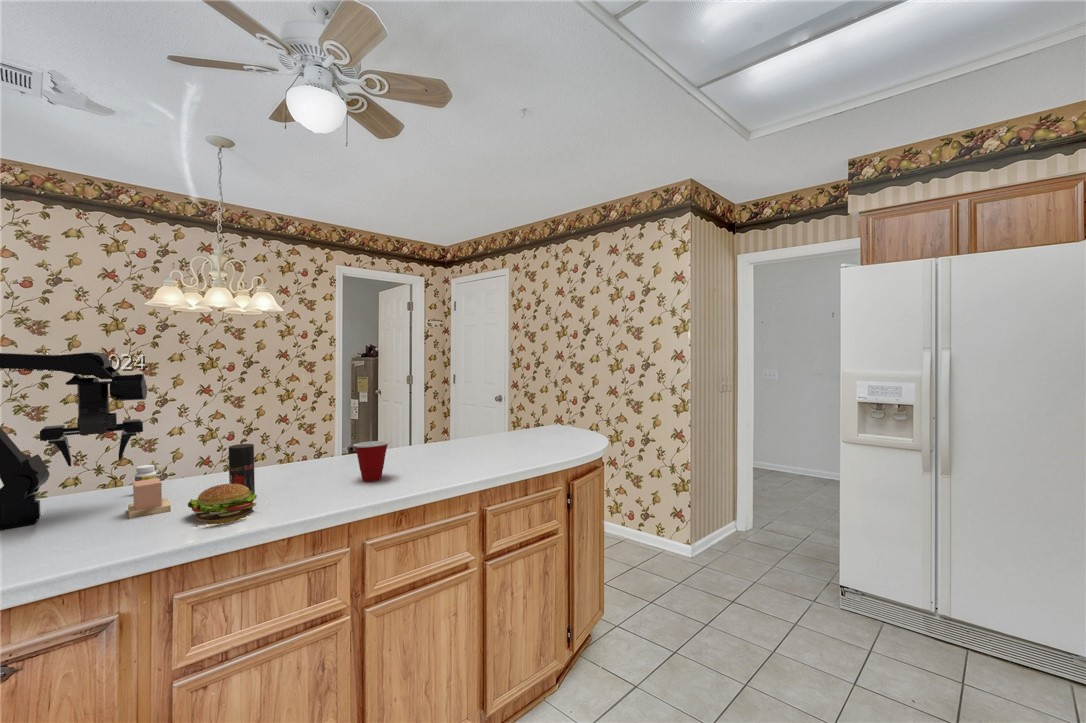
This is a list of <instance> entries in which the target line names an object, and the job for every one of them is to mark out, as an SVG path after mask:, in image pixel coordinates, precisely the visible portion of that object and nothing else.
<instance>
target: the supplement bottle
mask: <svg viewBox="0 0 1086 723" xmlns="http://www.w3.org/2000/svg"><path fill="white" fill-rule="evenodd" d="M135 469H136V473H135V475H134V481H140V480H147V479H154V478H158V477H157V472H156V471H155V470H156V468H155V464H145V465H144V464H143V465H138V466H136V468H135Z"/></svg>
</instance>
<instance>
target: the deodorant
mask: <svg viewBox="0 0 1086 723" xmlns="http://www.w3.org/2000/svg"><path fill="white" fill-rule="evenodd" d="M228 473H229V474H228V480H229V481H228V482H229V483H228V484H241V485H244V486H246V487H247V488H248V489H249V491H252V492H253V494H255V495H256V491H255V490H256V489H255V486H256V484H255V445H254V444H253V443H239V444H233V445H229V446H228Z"/></svg>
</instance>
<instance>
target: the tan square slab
mask: <svg viewBox="0 0 1086 723" xmlns="http://www.w3.org/2000/svg"><path fill="white" fill-rule="evenodd" d="M170 502H171V501H170V500H169V498H168V497H165V498H162V506H158V507H153V508H147V509H142V510H137V511H136V509H135V507H134V503H128V505H127V508H128V509H127V510H128V511H127V512H128V513H129V514H128V519H129V520H130V519H131V518H132V519H137V518H143V517H148V516H153V515H152V514H154V515H159V514H163V512H165V513H170V512H172V511H171V510H172V509H171V508H172V507H171V506H172V505H171V503H170ZM169 511H170V512H169ZM158 513H159V514H158ZM147 515H148V516H147ZM142 516H143V517H142ZM136 517H137V518H136Z"/></svg>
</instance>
